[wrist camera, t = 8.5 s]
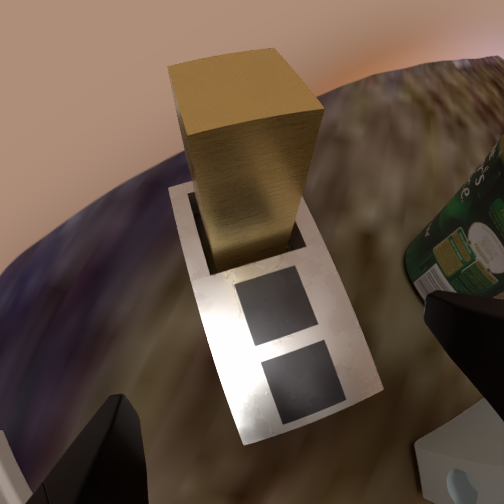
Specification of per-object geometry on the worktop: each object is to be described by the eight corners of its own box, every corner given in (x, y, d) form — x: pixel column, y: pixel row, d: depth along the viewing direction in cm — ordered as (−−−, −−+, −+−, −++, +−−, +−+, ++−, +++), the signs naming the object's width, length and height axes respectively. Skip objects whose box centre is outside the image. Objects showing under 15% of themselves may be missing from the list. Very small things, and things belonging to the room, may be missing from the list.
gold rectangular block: (283, 258, 23) (324, 108, 10) (219, 278, 22) (187, 135, 9) (261, 204, 25) (274, 47, 12) (201, 221, 24) (167, 66, 11)
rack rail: (366, 389, 19) (384, 389, 16) (243, 436, 18) (243, 445, 15) (279, 181, 26) (283, 157, 23) (175, 209, 24) (167, 187, 22)
